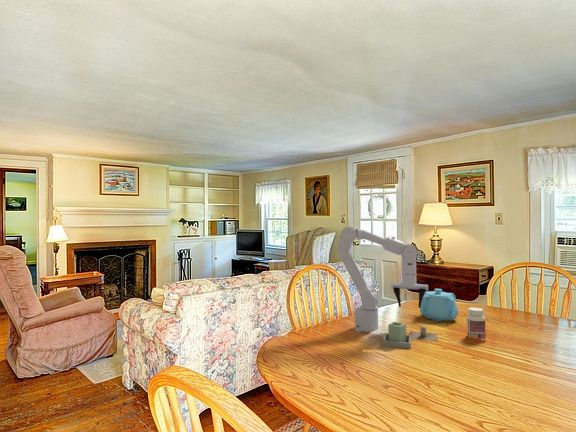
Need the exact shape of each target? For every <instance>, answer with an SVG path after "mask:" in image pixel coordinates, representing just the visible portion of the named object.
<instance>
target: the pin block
mask: <svg viewBox="0 0 576 432" xmlns="http://www.w3.org/2000/svg"><path fill="white" fill-rule="evenodd" d="M419 330H420V331H409V335H411V341H415V340H416V341H425V342H437V343H438V342H439V340H438V339H439V337H438V334H437V333H435V332H427V327H426V326H423V325H422V326H420V327H419Z"/></svg>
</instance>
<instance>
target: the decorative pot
mask: <svg viewBox="0 0 576 432" xmlns="http://www.w3.org/2000/svg"><path fill="white" fill-rule="evenodd" d="M456 301H457V297H456V295H455V294H454V293H453V292H445V291H443V289H442V288H434V291H433V290H432V291H429V290H426V291H425V294H424V296H423V299H422V302H421V308H419V313H420V314H421V315H422V316H423V317H424V318H425V317H426V318H425V319H431V320H434V322H435V321H436V323H441V322H442V321H451V322H453V320H455V319H457V318H458V315H459V307H458V304H457V302H456Z"/></svg>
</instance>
